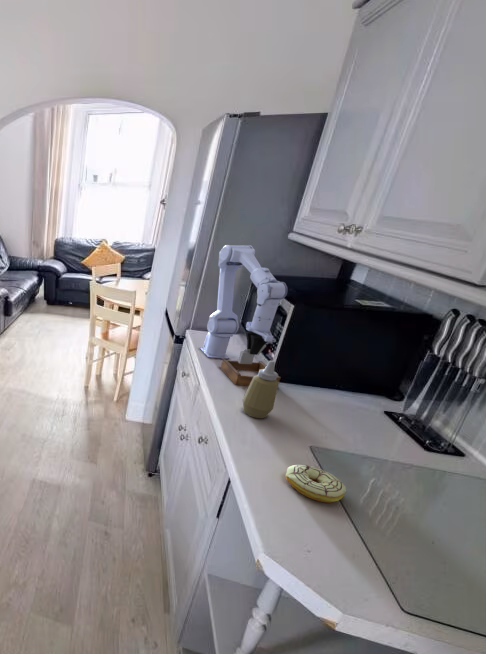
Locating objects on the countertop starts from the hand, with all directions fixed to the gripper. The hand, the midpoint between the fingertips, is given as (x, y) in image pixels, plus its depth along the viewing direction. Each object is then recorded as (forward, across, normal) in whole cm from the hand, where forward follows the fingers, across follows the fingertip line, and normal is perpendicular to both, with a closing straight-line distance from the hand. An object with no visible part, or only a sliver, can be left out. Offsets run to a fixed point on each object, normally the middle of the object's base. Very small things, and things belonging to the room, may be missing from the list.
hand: (251, 352), depth 141 cm
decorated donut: (+10, +59, -10) cm, 61 cm away
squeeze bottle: (+10, +26, -8) cm, 29 cm away
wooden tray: (+10, 0, +1) cm, 10 cm away
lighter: (+4, 0, 0) cm, 4 cm away
